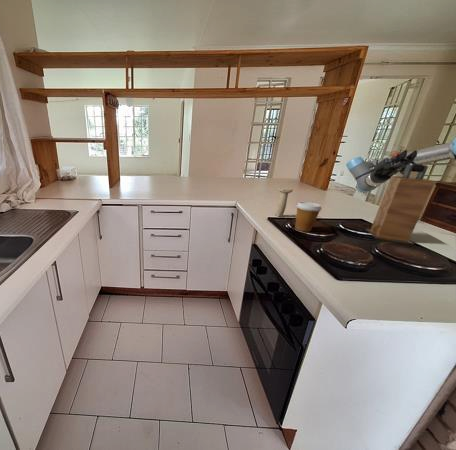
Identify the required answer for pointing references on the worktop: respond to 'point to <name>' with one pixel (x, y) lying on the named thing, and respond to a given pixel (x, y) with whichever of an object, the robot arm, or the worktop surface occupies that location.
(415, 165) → the lever
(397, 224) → the lever post
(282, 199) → the mushroom
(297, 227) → the disposable coffee cup
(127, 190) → the worktop surface
